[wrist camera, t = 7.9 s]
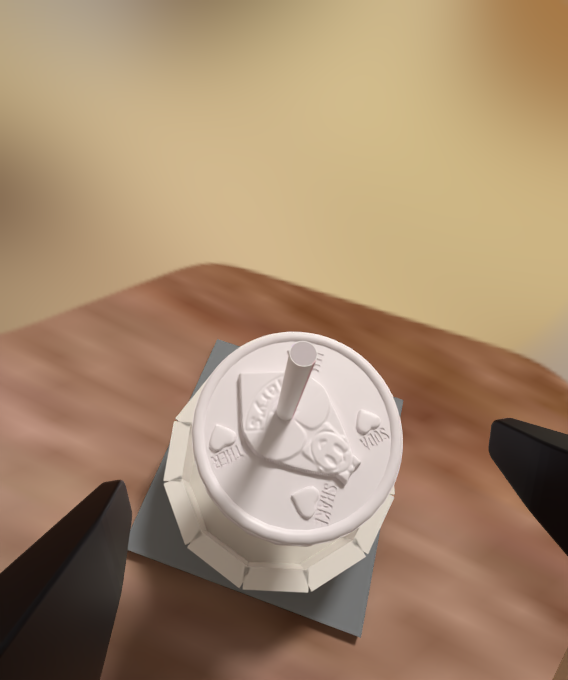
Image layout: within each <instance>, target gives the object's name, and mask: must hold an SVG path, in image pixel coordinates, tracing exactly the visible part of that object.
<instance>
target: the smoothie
mask: <svg viewBox="0 0 568 680" xmlns="http://www.w3.org/2000/svg"><path fill="white" fill-rule="evenodd" d="M192 447H193V454H194V459H195V463H196V467H197V470H198V473H199V476H200V478H201V480H202V482H203V484H204V487H205V490H206V492H207V494H208V495H209V496H210V498H211V499H212V500H213V502H214V503H215V504H216V506H217V507H218V508H219V510H220V511H221V512H222V514H223V515H224V516H225V517H226V518H227V519H229V520H230V521H231V522H233V523H234V524H235V525H237V526H238V527H239V528H241V529H242V530H243V531H245V532H246V533H247V534H249V535H251V536H254V537H257V538H259V539H262V540H265V541H267V542H270V543H273V544H275V545H284V546H302V547H308V546H312V545H316V544H321V543H325V542H329V541H333V540H336V539H338V538H340V537H343V536H345V535H347V534H349V533H351V532H353V531H354V530H356V529H357V528H359V527H360V526H362V525H363V524H364V523H365V522H367V521H368V520H369V519H370V518H371V517H372V516H373V515H374V514H375V513H376V512H377V511H378V510H379V508H380V507H381V506H382V504H383V503H384V502H385V500H386V499H387V497H388V495H389V494H390V492H391V490H392V488H393V486H394V483H395V481H396V478H397V475H398V472H399V468H400V464H401V458H402V450H403V436H402V426H401V420H400V416H399V412H398V409H397V406H396V403H395V401H394V398H393V396H392V394H391V392H390V390H389V388H388V387H387V385H386V383H385V382H384V380H383V379H382V377H381V376H380V375H379V373H378V372H377V371H376V370H375V369H374V367H373V366H372V365H371V364H370V363H369V362H368V361H367V360H365V359H364V358H363V357H362V356H361V355H359V354H358V353H357V352H355V351H354V350H352V349H351V348H349V347H347V346H346V345H344V344H342V343H340V342H338V341H336V340H333V339H330V338H328V337H325V336H321V335H317V334H312V333H305V332H282V333H276V334H270V335H267V336H263V337H260V338H257V339H255V340H252V341H250V342H248V343H246V344H244V345H243V346H241V347H239V348H238V349H236V350H235V351H233V352H232V353H231V354H230V355H228V356H227V357H226V358H225V359H224V360H223V361H222V362H221V363H220V364H219V365H218V366H217V367H216V368H215V370H214V371H213V372H212V374H211V375H210V376H209V378H208V380H207V381H206V383H205V385H204V387H203V389H202V391H201V393H200V395H199V398H198V400H197V404H196V407H195V411H194V416H193V423H192Z"/></svg>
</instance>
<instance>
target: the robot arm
mask: <svg viewBox="0 0 568 680" xmlns="http://www.w3.org/2000/svg"><path fill="white" fill-rule="evenodd" d="M489 453H490V456H491V458H492V459H493V461H494V462H495V464H496V465H497V466H498V468H499V469H500V471H501V472H502V473H503V475H504V476H505V478H506V479H507V480H508V482H509V483H510V485H511V486H512V488H513V489H514V490H515V492H516V493H517V495H518V496H519V497H520V499H521V500H522V502H523V503H524V504H525V506H526V507H527V508H528V510H529V511H530V512H531V513H532V515H533V516H534V517H535V518H536V519H537V521H538V522H539V523H540V524H541V525H542V527H543V528H544V529H545V530H546V531H547V532H548V534H549V535H550V536H551V537H552V538H553V539H554V541H555V542H556V543H557V544H558V545H559V547H560V548H561V549H562V550H563V551H564V552H565V554H566V555H567V556H568V435H567V434H564V433H561V432H557V431H554V430H550V429H547V428H543V427H540V426H537V425H533V424H530V423H526V422H523V421H519V420H516V419H513V418H505V419H499V420H495V421H494V422H493V423H492V425H491V432H490V440H489ZM131 521H132V511H131V506H130V502H129V498H128V494H127V490H126V486H125V483H124V481H122V480H115V481H108V482H104V483H102V484H101V485H99V486H98V487H97V488H96V489H95V490H94V491H93V492H92V493H90V494H89V495H88V496H87V497H86V498H85V499H84V500H83V501H81V502H80V503H79V504H78V505H77V506H76V507H75V508H73V509H72V510H71V511H70V512H69V513H68V514H67V515H66V516H64V517H63V518H62V519H61V520H60V521H59V522H58V523H57V524H55V525H54V526H53V527H52V528H51V529H50V530H49V531H48V532H46V533H45V534H44V535H43V536H42V537H41V538H40V539H38V540H37V541H36V542H35V543H34V544H33V545H32V546H31V547H29V548H28V549H27V550H26V551H25V552H24V553H23V554H22V555H20V556H19V557H18V558H17V559H16V560H15V561H14V562H12V563H11V564H10V565H9V566H8V567H7V568H6V569H5V570H3V571H2V572H1V573H0V680H100V677H101V673H102V669H103V665H104V661H105V657H106V653H107V649H108V645H109V641H110V637H111V633H112V629H113V625H114V621H115V617H116V613H117V609H118V605H119V600H120V596H121V591H122V585H123V579H124V572H125V564H126V557H127V550H128V543H129V536H130V528H131Z"/></svg>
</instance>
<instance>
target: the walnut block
mask: <svg viewBox="0 0 568 680" xmlns="http://www.w3.org/2000/svg"><path fill="white" fill-rule="evenodd" d="M553 680H568V648H567V650H566V652H565V654H564V657H563V659H562V661H561V663H560V665H559V667H558V669H557V671H556V673H555V676H554V678H553Z"/></svg>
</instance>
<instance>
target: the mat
mask: <svg viewBox="0 0 568 680" xmlns="http://www.w3.org/2000/svg"><path fill="white" fill-rule="evenodd" d="M239 347H240V346H236V345H233V344H230V343H227V342H224V341H221V340H218V339H217V341H216V343H215V346H214V348H213V350H212V352H211V354H210V357H209V359H208V361H207V363H206V365H205V368H204V370H203V372H202V374H201V376H200V379H199V381H198V383H197V385H196V387H195V390H194V392H193V394H192V396H191V398H192V397H193V396H194V395H195V393H196V392H197V391H198V390H199V388H200V387H201V386H202V385H203V384H204V382H205V381H206V380H207V379H208V377H209V376H210V375H211V374H212V372H213V371H214V370H215V368H216V367H217V366H218V365H219V364H220V363H221V362H222V361H223V360H224V359H225V358H226V357H227V356H228V355H230V354H231V353H232V352H233V351H235V350H236V349H238V348H239ZM191 398H190V400H191ZM393 398H394V401H395V403H396V406H397V409H398V412H399V416H401V410H402V404H403V400H401V399H398V398H395V397H393ZM190 400H189V401H190ZM169 447H170V444H169ZM169 447H168V449H167V451H166V453H165V455H164V457H163V460H162V462H161V464H160V466H159V468H158V471H157V473H156V475H155V477H154V479H153V482H152V484H151V486H150V488H149V490H148V493H147V495H146V497H145V499H144V501H143V504H142V506H141V508H140V510H139V512H138V515H137V517H136V519H135V521H134V523H133V525H132V528H131V530H130V536H129V543H128V550H129V551H132V552H135V553H137V554H140V555H143V556H145V557H148V558H151V559H153V560H156V561H159V562H161V563H164V564H166V565H169V566H172V567H174V568H177V569H180V570H182V571H185V572H188V573H190V574H193V575H196V576H198V577H201V578H204V579H206V580H209V581H212V582H214V583H217V584H220V585H222V586H225V587H228V588H230V589H233V590H236V591H238V592H241V593H243V594H246V595H249V596H251V597H254V598H257V599H259V600H262V601H265V602H267V603H270V604H273V605H275V606H278V607H281V608H283V609H286V610H289V611H291V612H294V613H297V614H299V615H302V616H305V617H307V618H310V619H313V620H315V621H318V622H320V623H323V624H326V625H328V626H331V627H334V628H336V629H339V630H342V631H344V632H347V633H350V634H352V635H355V636H358V637H360V638H361V634H362V628H363V623H364V617H365V611H366V606H367V600H368V595H369V589H370V583H371V578H372V572H373V567H374V561H375V555H376V550H377V544H378V539H379V533H380V529H379V532H378V534H377V536H376V538H375V540H374V542H373V545H372V547H371V549H370V551H369V553H368V554H365V553H364V554H365V556H366V557H365V558H363V559H362V560H360V561H359V562H357V563H355V564H354V565H352V566H351V567H349V568H348V569H346V570H345V571H343V572H341V573H340V574H338V575H337V576H335V577H334V578H332V579H331V580H329V581H327V582H326V583H324V584H323V585H321V586H320V587H318V588H317V589H315V590H313V591H312V592H311V591H310V589H309V588H308V593H306V592H284V591H263V590H243V583H242V585H241V586H240V588H238V587H237V586H236V585H234V584H233V583H232V582H231V581H229V580H228V579H227V578H225V577H224V576H223V575H222V574H220V573H219V572H218V571H216V570H215V569H214V568H213V567H211V566H210V565H209V564H207V563H206V562H205V561H204V560H202V559H201V558H200V557H199V556H197V555H196V554H195V553H193V552H192V551H191V550H190V549H188V548H187V547H188V545H189V544H190V543H189V544H186V545H185V543H184V540H183V537H182V535H181V532H180V529H179V526H178V523H177V520H176V518H175V515H174V512H173V509H172V506H171V504H170V501H169V498H168V495H167V492H166V489H165V487H164V483H166V482H165V481H163V480H164V474H165V469H166V463H167V458H168V452H169Z"/></svg>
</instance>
